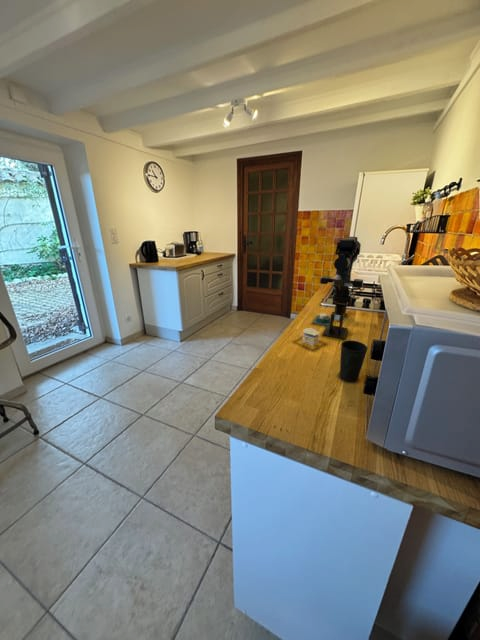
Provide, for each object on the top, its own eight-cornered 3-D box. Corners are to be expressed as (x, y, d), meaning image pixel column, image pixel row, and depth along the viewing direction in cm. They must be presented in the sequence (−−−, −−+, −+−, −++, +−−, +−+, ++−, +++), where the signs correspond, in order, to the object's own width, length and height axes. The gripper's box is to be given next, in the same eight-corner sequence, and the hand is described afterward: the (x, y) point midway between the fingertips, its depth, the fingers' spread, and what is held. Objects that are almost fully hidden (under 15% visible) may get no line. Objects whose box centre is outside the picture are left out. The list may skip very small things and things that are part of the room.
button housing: (316, 318, 136) (317, 312, 135) (332, 320, 132) (333, 315, 131) (312, 324, 128) (312, 319, 126) (328, 327, 124) (329, 321, 123)
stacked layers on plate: (325, 344, 108) (327, 332, 106) (312, 350, 102) (314, 338, 100) (306, 336, 115) (307, 325, 113) (293, 342, 110) (294, 330, 108)
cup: (356, 371, 88) (362, 340, 84) (364, 384, 81) (371, 352, 77) (334, 370, 89) (338, 339, 85) (339, 383, 82) (345, 351, 78)
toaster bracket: (327, 327, 124) (330, 308, 121) (347, 330, 120) (350, 311, 117) (322, 336, 114) (324, 316, 111) (343, 340, 110) (346, 320, 107)
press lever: (335, 321, 125) (337, 314, 125) (342, 322, 124) (343, 315, 124) (332, 320, 114) (334, 313, 114) (340, 321, 112) (341, 314, 112)
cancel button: (320, 316, 131) (320, 313, 130) (327, 317, 130) (327, 314, 129) (318, 318, 128) (319, 315, 128) (326, 319, 127) (326, 316, 126)
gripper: (319, 268, 116) (315, 300, 122) (363, 271, 107) (357, 306, 113) (324, 264, 125) (320, 294, 131) (365, 267, 116) (360, 299, 122)
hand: (338, 298), depth 124 cm, fingers closed
